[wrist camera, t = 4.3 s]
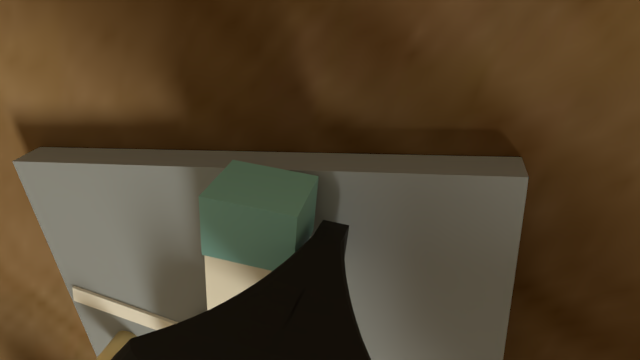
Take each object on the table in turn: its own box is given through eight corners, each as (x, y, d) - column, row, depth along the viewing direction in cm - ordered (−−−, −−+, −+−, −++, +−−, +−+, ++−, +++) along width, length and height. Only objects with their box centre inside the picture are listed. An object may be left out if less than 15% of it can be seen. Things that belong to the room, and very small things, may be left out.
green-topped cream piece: (339, 439, 18) (327, 495, 16) (194, 397, 19) (167, 446, 17) (383, 188, 12) (373, 232, 10) (174, 148, 13) (131, 182, 11)
